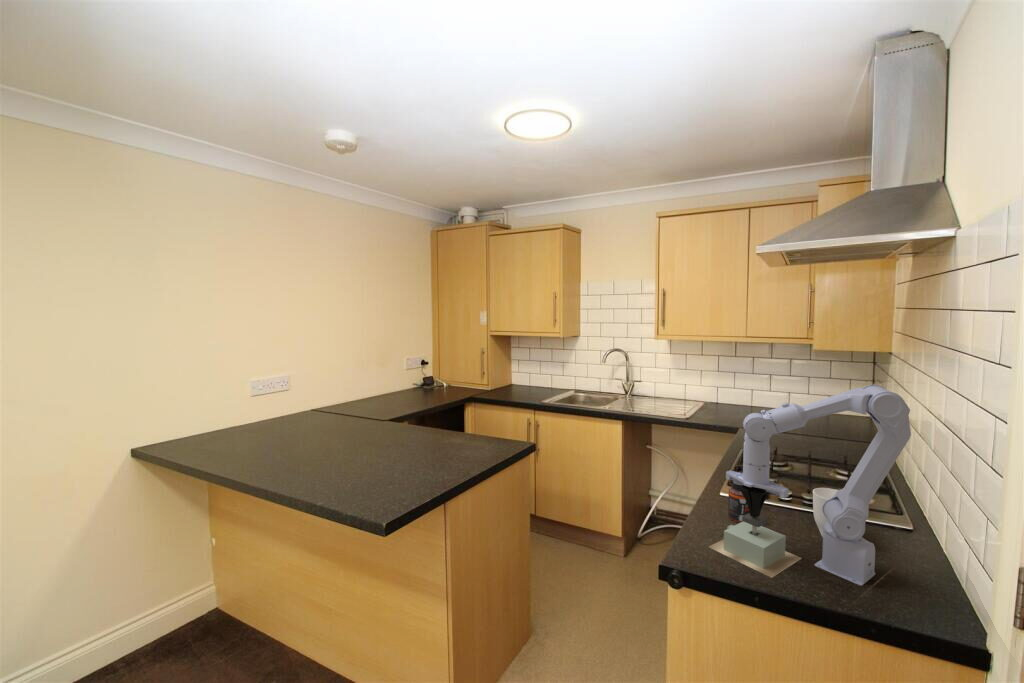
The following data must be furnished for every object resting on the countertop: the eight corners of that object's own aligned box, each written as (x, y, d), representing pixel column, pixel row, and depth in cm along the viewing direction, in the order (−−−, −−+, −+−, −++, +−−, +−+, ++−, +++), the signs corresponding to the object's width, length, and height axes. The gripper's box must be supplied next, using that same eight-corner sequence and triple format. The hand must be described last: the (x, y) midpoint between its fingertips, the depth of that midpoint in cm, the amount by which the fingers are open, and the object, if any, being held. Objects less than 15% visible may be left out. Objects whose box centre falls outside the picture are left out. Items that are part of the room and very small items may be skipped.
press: (785, 555, 111) (785, 535, 111) (763, 568, 106) (763, 548, 106) (739, 535, 121) (740, 517, 121) (717, 546, 116) (718, 528, 115)
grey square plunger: (766, 540, 112) (767, 518, 111) (757, 545, 110) (758, 522, 109) (750, 533, 115) (751, 512, 115) (741, 538, 113) (742, 516, 113)
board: (802, 559, 110) (802, 558, 110) (771, 579, 102) (771, 577, 102) (738, 532, 123) (738, 531, 123) (708, 548, 116) (708, 546, 116)
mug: (849, 550, 114) (849, 504, 113) (808, 538, 120) (808, 494, 119) (859, 533, 121) (859, 490, 121) (820, 523, 128) (820, 482, 127)
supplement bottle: (748, 527, 126) (749, 488, 125) (725, 521, 130) (726, 483, 129) (752, 518, 131) (753, 481, 130) (730, 513, 135) (731, 476, 134)
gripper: (719, 457, 115) (718, 509, 116) (778, 475, 103) (776, 532, 104) (735, 452, 119) (734, 502, 120) (793, 468, 106) (791, 523, 108)
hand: (754, 515), depth 112 cm, fingers closed
